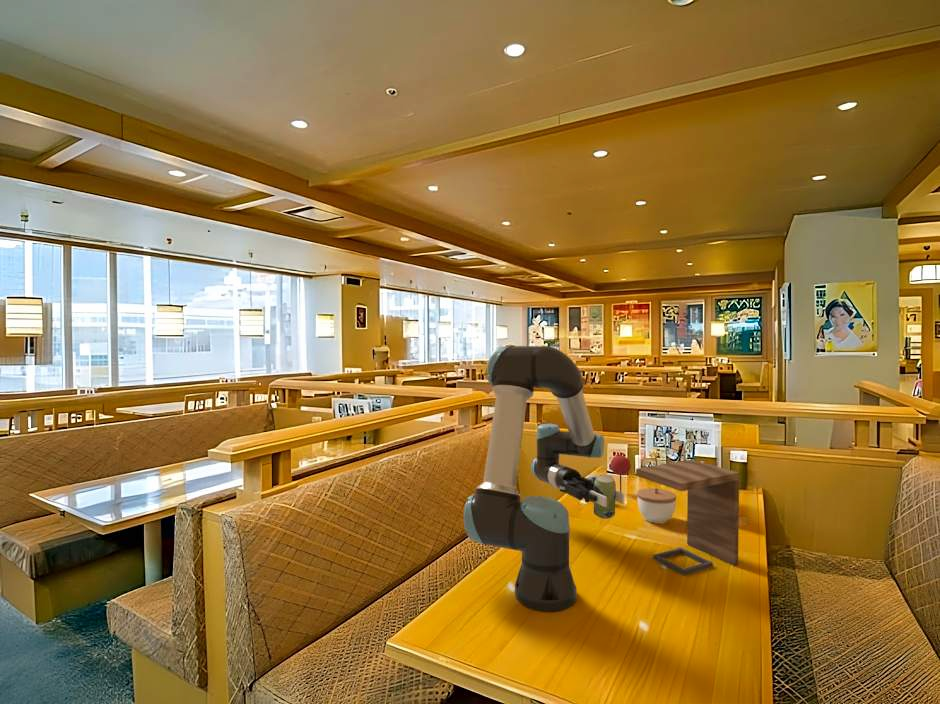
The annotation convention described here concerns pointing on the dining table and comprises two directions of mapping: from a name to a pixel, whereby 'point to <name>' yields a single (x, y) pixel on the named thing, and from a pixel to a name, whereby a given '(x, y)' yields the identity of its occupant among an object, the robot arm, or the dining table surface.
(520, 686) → the dining table surface
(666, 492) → the lidded bowl
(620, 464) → the lollipop
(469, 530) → the robot arm
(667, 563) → the grey square frame
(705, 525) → the walnut shelf
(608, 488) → the beverage can
